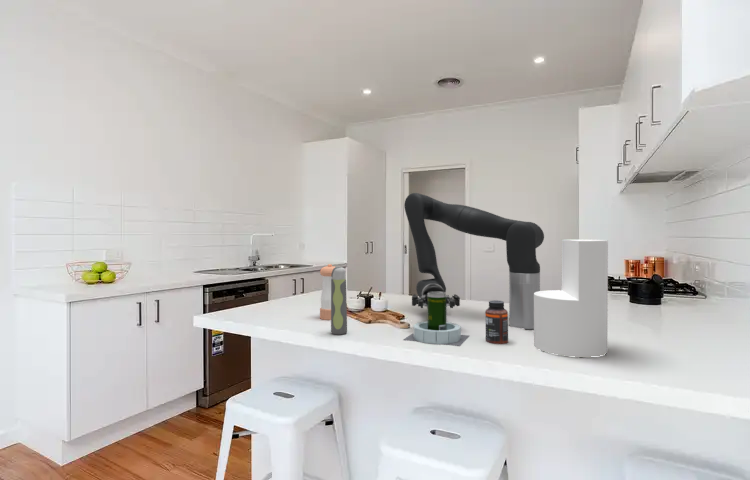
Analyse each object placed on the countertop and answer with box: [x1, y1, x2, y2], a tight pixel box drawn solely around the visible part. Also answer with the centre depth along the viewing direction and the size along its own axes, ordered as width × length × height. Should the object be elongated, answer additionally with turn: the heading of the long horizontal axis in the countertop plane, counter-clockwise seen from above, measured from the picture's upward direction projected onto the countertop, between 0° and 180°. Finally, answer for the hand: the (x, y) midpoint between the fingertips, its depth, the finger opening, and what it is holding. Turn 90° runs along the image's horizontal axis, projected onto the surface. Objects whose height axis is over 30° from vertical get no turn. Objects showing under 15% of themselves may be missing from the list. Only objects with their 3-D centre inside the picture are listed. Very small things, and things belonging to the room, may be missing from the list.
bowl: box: [412, 320, 462, 345], centre depth 118 cm, size 13×13×3 cm
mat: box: [402, 333, 470, 347], centre depth 118 cm, size 16×12×1 cm
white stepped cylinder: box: [533, 239, 609, 357], centre depth 108 cm, size 17×17×28 cm
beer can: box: [426, 291, 448, 330], centre depth 118 cm, size 5×5×12 cm
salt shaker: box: [319, 263, 336, 321], centre depth 148 cm, size 7×7×19 cm
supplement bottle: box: [484, 299, 509, 345], centre depth 114 cm, size 6×6×11 cm
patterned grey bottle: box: [330, 266, 348, 336], centre depth 126 cm, size 5×5×20 cm
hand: (436, 304), depth 120 cm, fingers open, 8 cm apart
